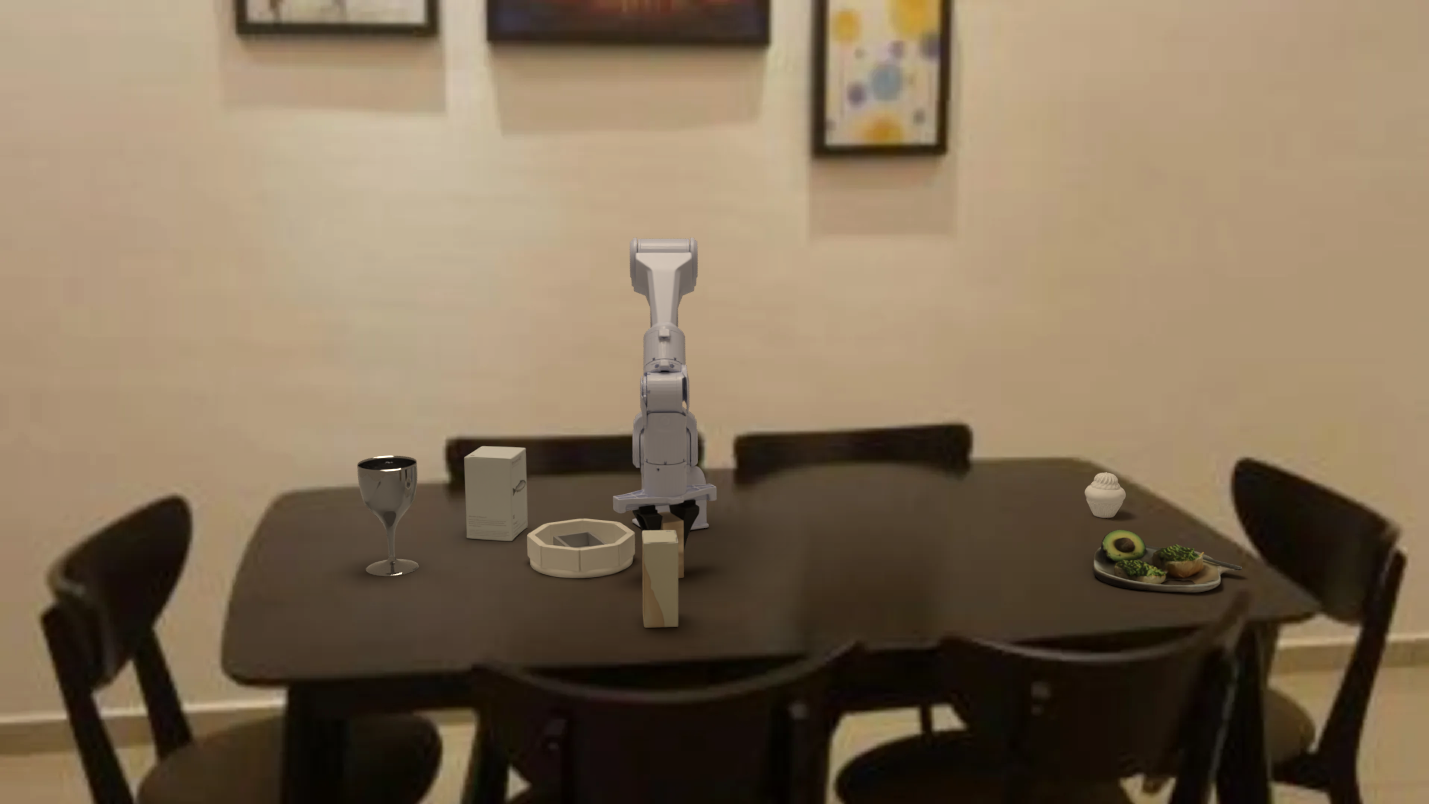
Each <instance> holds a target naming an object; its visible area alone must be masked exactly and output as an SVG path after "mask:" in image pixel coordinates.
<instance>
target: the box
mask: <svg viewBox="0 0 1429 804" xmlns="http://www.w3.org/2000/svg"><path fill="white" fill-rule="evenodd" d="M641 539H642V540H641V541H642V542H641V544H642V546H641V549H642V550H641V551H642V553H641V554H642V556H641V557H642V559H641V561H642V562H641V563H642V565H641V566H642V573H641V574H642V621H643V627H644V628H647V629H648V628H650V629H651V628H676V627H677V628H678V627H679V578H678V539H677V534H676V531H675V530H646V531H642V530H641Z"/></svg>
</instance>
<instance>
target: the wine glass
mask: <svg viewBox="0 0 1429 804" xmlns="http://www.w3.org/2000/svg"><path fill="white" fill-rule="evenodd" d="M356 466H357V469H356V470H357V479H358V481H357V482H358V486H359V491H360V495H361V498H362V502H363V504H364V505H365V506H366V507H367V509H368V511H370V512H371V513H372V514H373V515H374V516H375V517H376V518H377V519H378V520H379V521H380V522H381V524H382V525H383V528H384V530H385V533H386V538H387V546H388V558H387V559H383V560H379V561H376V562H373V563H371V564H369V565H368V566H367V567H365V571H366V573H368V574H369V575H373V576H378V577H394V576H395V577H397V576H402V575H406V574H410V573H412V572H415V571H416V570H418V568H419V567H420V565H419V563H418V562H416V561H414V560H411V559H404V558H403V559H402V558H396V554H395V540H396V539H395V537H396V528H397V526H398V524H399V521H400V520H401V519H402V517H404V515H405V514H406V512H407V511H408V510H409V508H410V507H411V505H412V504H413V502H414V500H415V497H416V491H417V487H418V486H417V485H418V461H417V459H416V458H414V457H410V456H406V455H405V456H404V455H383V456H375V457H369V458H366V459H362V460H360V461H359V462H357V465H356Z"/></svg>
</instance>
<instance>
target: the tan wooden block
mask: <svg viewBox="0 0 1429 804" xmlns="http://www.w3.org/2000/svg"><path fill="white" fill-rule="evenodd" d="M659 514H660V515H662V516H663V518H662V522H661V528H660V530H675V531H676V534H677V539H678V579H681V578H684V577H685V573H684V572H685V568H684V566H685V565H684V564H685V562H684V561H685V559H684V558H685V557H684V556H685V555H684V554H685V553H684V552H685V549H684V524H683V520H682V519H680V518H678V517H677V516H675V515H673V514H672V513H670V512H669V511H666V512H659Z"/></svg>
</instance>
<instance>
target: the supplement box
mask: <svg viewBox="0 0 1429 804" xmlns="http://www.w3.org/2000/svg"><path fill="white" fill-rule="evenodd" d="M526 451H527V448H526V447H515V446H486V445H482V446H480V447H478V448H477V449H475V450H474V451H472V452H471V453H469V454H467V455H466V456H464V458H463V460H464V465H463V466H464V489H465V491H464V492H465V493H464V494H465V519H466V520H465V522H466V526H465V527H466V538H467V539H473V540H485V541H486V540H487V541H502V542H513V541H514V540H515V538H516V537H517V536H518V535H519V534H521V533H522V532H523V531H524V530H526V529H527V528H528V526H529V525H528V524H529V523H528V521H529V520H528V487H527V486H528V483H527V482H528V481H527V480H528V479H527V453H526Z"/></svg>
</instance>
